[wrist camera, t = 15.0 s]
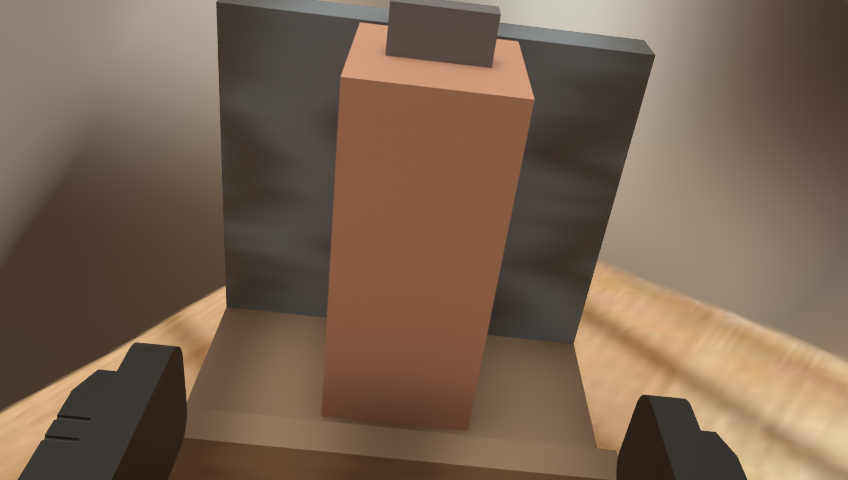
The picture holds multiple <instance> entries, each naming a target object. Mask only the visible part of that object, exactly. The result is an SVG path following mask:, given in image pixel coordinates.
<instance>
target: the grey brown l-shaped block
mask: <svg viewBox="0 0 848 480" xmlns="http://www.w3.org/2000/svg"><path fill="white" fill-rule="evenodd" d="M216 3H217V32H218V33H217V34H218V63H219V64H218V65H219V95H220V125H221V153H222V154H221V155H222V182H223V183H222V185H223V214H224V243H225V273H226V304H227V307H226V310H225V312H224V315H223V317H222V319H221V322H220V324H219V327H218V329H217V331H216V334H215V336H214V338H213V341H212V343H211V346H210V348H209V350H208V353H207V355H206V358H205V360H204V362H203V365H202V367H201V370H200V372H199V374H198V377H197V379H196V382H195V384H194V386H193V389H192V391H191V394H190V396H189V398H188V401H187V423H186V430H185V435H184V439H183V442H182V446H181V448H180V451H179V453H178V456H177V458H176V461H175V464H174V466H173V469H172V471H171V474H170V476H169V479H168V480H616V469H617V460H618V456H617V452H616V451H615V450H605V449H597V446H596V442H595V437H594V433H593V428H592V424H591V419H590V415H589V410H588V406H587V402H586V397H585V393H584V388H583V384H582V379H581V375H580V370H579V366H578V362H577V357H576V353H575V348H574V340H575V337H576V333H577V330H578V326H579V323H580V319H581V316H582V312H583V309H584V305H585V301H586V298H587V294H588V291H589V287H590V284H591V280H592V277H593V273H594V270H595V266H596V263H597V259H598V256H599V252H600V249H601V245H602V241H603V238H604V234H605V231H606V227H607V224H608V220H609V217H610V213H611V209H612V206H613V203H614V199H615V195H616V192H617V188H618V185H619V181H620V178H621V174H622V171H623V167H624V164H625V160H626V157H627V153H628V150H629V146H630V143H631V139H632V135H633V131H634V129H635V125H636V121H637V118H638V114H639V111H640V107H641V104H642V100H643V97H644V93H645V89H646V86H647V83H648V79H649V76H650V72H651V68H652V65H653V61H654V57H655V54H654V53H653V52H652V50H651V49H650V48H649V46H648V45H647V44H646V42H645V41H644V40H638V39H629V38H622V37H613V36H605V35H596V34H589V33H580V32H572V31H564V30H555V29H547V28H539V27H531V26H523V25H515V24H506V23H499V28H498V34H497V39H502V40H510V41H518V42H519V45H520V49H521V52H522V56H523V60H524V63H525V67H526V70H527V74H528V78H529V81H530V85H531V88H532V92H533V96H534V99H535V100H534V105H533V110H532V115H531V120H530V125H529V130H528V135H527V140H526V145H525V150H524V155H523V160H522V164H521V169H520V174H519V179H518V184H517V189H516V194H515V199H514V204H513V209H512V214H511V219H510V224H509V229H508V234H507V239H506V243H505V248H504V253H503V258H502V263H501V268H500V273H499V278H498V283H497V288H496V293H495V298H494V303H493V308H492V313H491V318H490V323H489V327H488V332H487V337H486V342H485V347H484V352H483V357H482V362H481V367H480V372H479V377H478V382H477V387H476V392H475V397H474V402H473V407H472V411H471V416H470V421H469V426H468V431H466V430H456V429H446V428H436V427H426V426H416V425H406V424H396V423H386V422H376V421H366V420H356V419H346V418H336V417H326V416H322V398H323V380H324V362H325V344H326V327H327V309H328V291H329V273H330V255H331V238H332V220H333V202H334V184H335V166H336V148H337V131H338V113H339V95H340V77H341V74H342V71H343V68H344V66H345V63H346V60H347V57H348V54H349V51H350V49H351V46H352V43H353V40H354V37H355V35H356V32H357V29H358V26H359V23H360V22H361V23H369V24H377V25H386V26H388V20H389V9H383V8H375V7H367V6H358V5H350V4H341V3H333V2H326V1H317V0H218V1H217V2H216Z"/></svg>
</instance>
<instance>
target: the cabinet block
mask: <svg viewBox="0 0 848 480" xmlns="http://www.w3.org/2000/svg"><path fill="white" fill-rule="evenodd" d="M500 16H501V14H500V9H499V7H496V6H488V5H480V4H472V3H464V2H455V1H447V0H390V9H389V20H388V26H386V25H377V24H369V23H361V22H360V23H359V26H358V29H357V32H356V35H355V37H354V40H353V43H352V46H351V49H350V51H349V54H348V57H347V60H346V63H345V66H344V68H343V71H342V74H341V77H340V95H339V113H338V131H337V148H336V166H335V184H334V202H333V220H332V238H331V255H330V273H329V291H328V309H327V327H326V344H325V362H324V380H323V398H322V416H326V417H336V418H346V419H356V420H366V421H376V422H386V423H396V424H406V425H416V426H426V427H436V428H446V429H456V430H466V431H468V426H469V421H470V416H471V411H472V407H473V402H474V397H475V392H476V387H477V382H478V377H479V372H480V367H481V362H482V357H483V352H484V347H485V342H486V337H487V332H488V327H489V323H490V318H491V313H492V308H493V303H494V298H495V293H496V288H497V283H498V278H499V273H500V268H501V263H502V258H503V253H504V248H505V243H506V239H507V234H508V229H509V224H510V219H511V214H512V209H513V204H514V199H515V194H516V189H517V184H518V179H519V174H520V169H521V164H522V160H523V155H524V150H525V145H526V140H527V135H528V130H529V125H530V120H531V115H532V110H533V105H534V100H535V99H534V96H533V92H532V88H531V85H530V81H529V78H528V74H527V70H526V67H525V63H524V60H523V56H522V52H521V49H520V45H519V42H518V41H510V40H502V39H497V34H498V28H499V22H500Z"/></svg>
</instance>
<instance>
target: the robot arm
mask: <svg viewBox="0 0 848 480" xmlns="http://www.w3.org/2000/svg"><path fill="white" fill-rule="evenodd" d="M186 423H187V401H186V389H185V377H184V366H183V355H182V350H181V348H180V347H177V346H167V345H157V344H147V343H134V344H133V345H132V346H131V347H130V349H129V351H128V352H127V354H126V356H125V358H124V360H123V361H122V363H121V365H120V367H119V369H118V370H117V371H108V370H97V371H96V372H94V373H93V374H92V375H91V376H89V377H88V378H87V379H86V380H84V381H83V382H82V383H81V384H79V385H78V386H77V387H76V388H74V389H73V390H72V392H71V393H70V395H69V396H68V398H67V400H66V401H65V403H64V405H63V406H62V408H61V410H60V411H59V413H58V414H57V419H56V420H54V421H53V423H52V424H51V426H50V428H49V429H48V431H47V432H46V434H45V439H44V440H42V441H41V442H40V444H39V446H38V447H37V449H36V451H35V452H34V454H33V455H32V457H31V459H30V460H29V462H28V464H27V465H26V467H25V469H24V470H23V472H22V473H21V475H20V477H19V478H18V480H168V479H169V476H170V474H171V471H172V469H173V466H174V464H175V461H176V458H177V456H178V453H179V451H180V448H181V446H182V442H183V439H184V435H185V430H186ZM616 480H747V478H746V476H745V473H744V471H743V469H742V466H741V464H740V461H739V459H738V457H737V456H736V454H735V453H734V452H733V451H732V450H731V449H730V448H729V447H728V445H727V444H726V443H725V442H724V441H723V440H722V439H721V438H720V436H719V435H718V434H717V433H716V432H709V431H701V430H700V427H699V425H698V422H697V420H696V417H695V415H694V412H693V409H692V407H691V405H690V403H689V402H688V401H687V400H686V399H681V398H671V397H661V396H651V395H642V396H641V397H640V398H639V400H638V402H637V404H636V407H635V410H634V413H633V415H632V418H631V421H630V424H629V427H628V429H627V432H626V435H625V438H624V441H623V443H622V446H621V449H620V452H619V455H618V460H617V469H616Z"/></svg>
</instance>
